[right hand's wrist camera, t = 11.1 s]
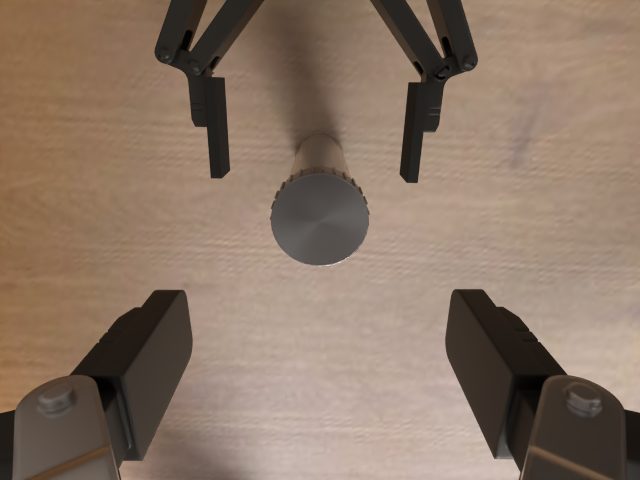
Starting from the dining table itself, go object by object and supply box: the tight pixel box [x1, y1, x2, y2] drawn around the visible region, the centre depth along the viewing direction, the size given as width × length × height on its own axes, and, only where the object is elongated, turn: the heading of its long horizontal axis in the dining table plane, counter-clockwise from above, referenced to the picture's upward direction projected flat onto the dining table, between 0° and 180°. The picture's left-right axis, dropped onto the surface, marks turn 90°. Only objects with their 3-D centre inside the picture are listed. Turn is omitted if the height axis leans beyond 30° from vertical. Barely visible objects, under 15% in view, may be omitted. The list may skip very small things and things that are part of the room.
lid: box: [270, 165, 369, 266], centre depth 20 cm, size 5×5×2 cm
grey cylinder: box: [289, 134, 351, 178], centre depth 27 cm, size 4×4×17 cm
